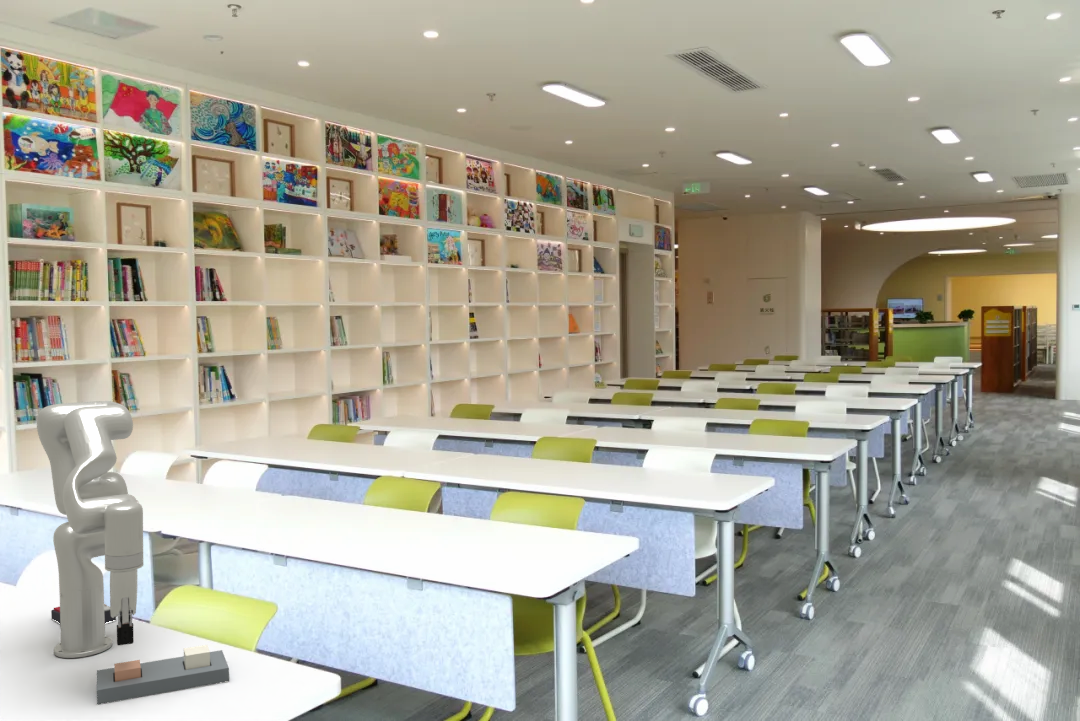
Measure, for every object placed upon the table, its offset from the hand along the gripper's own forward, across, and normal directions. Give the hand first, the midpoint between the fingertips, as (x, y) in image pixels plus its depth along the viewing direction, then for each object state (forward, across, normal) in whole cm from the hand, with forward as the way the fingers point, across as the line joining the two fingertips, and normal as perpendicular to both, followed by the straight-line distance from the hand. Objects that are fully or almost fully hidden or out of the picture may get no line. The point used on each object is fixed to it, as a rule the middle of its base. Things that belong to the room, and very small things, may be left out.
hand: (125, 643), depth 191 cm
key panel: (+10, +1, +7) cm, 12 cm away
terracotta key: (+9, +1, 0) cm, 9 cm away
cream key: (+7, +1, +14) cm, 16 cm away
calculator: (+13, -54, -9) cm, 56 cm away
